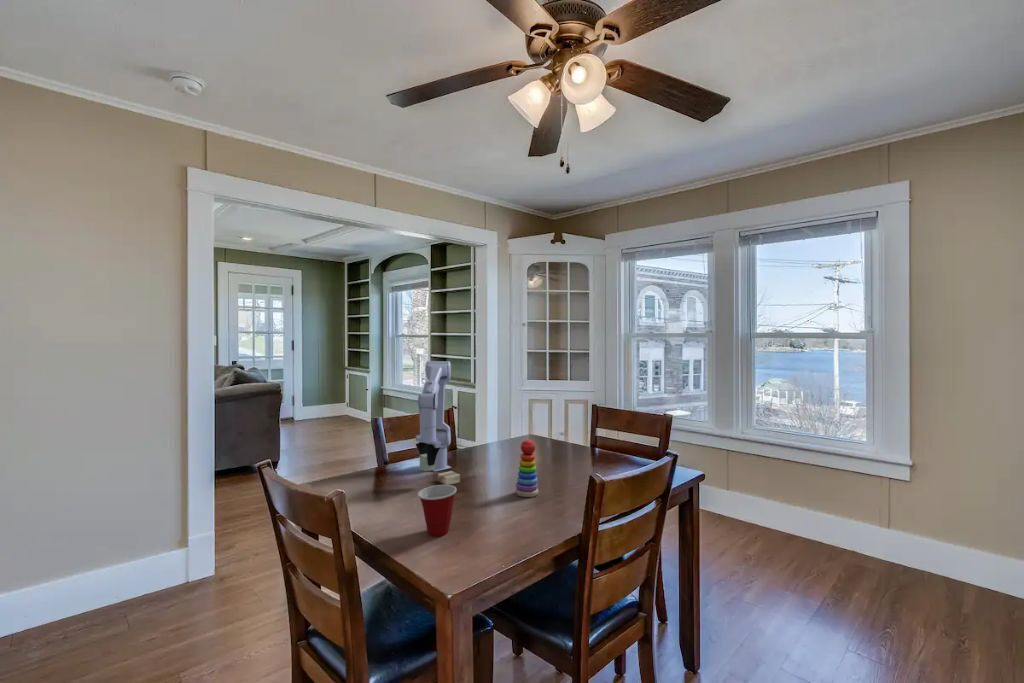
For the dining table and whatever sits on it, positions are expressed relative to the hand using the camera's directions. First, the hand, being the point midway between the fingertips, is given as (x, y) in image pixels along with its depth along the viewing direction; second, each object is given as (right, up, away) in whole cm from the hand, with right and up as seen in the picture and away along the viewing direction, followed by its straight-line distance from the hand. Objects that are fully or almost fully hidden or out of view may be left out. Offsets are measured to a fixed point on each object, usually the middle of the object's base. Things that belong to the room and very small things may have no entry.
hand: (428, 463), depth 168 cm
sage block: (0, -2, 0) cm, 2 cm away
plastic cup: (+10, -9, -38) cm, 40 cm away
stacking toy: (+36, -9, -7) cm, 37 cm away
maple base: (+7, -9, +6) cm, 12 cm away
